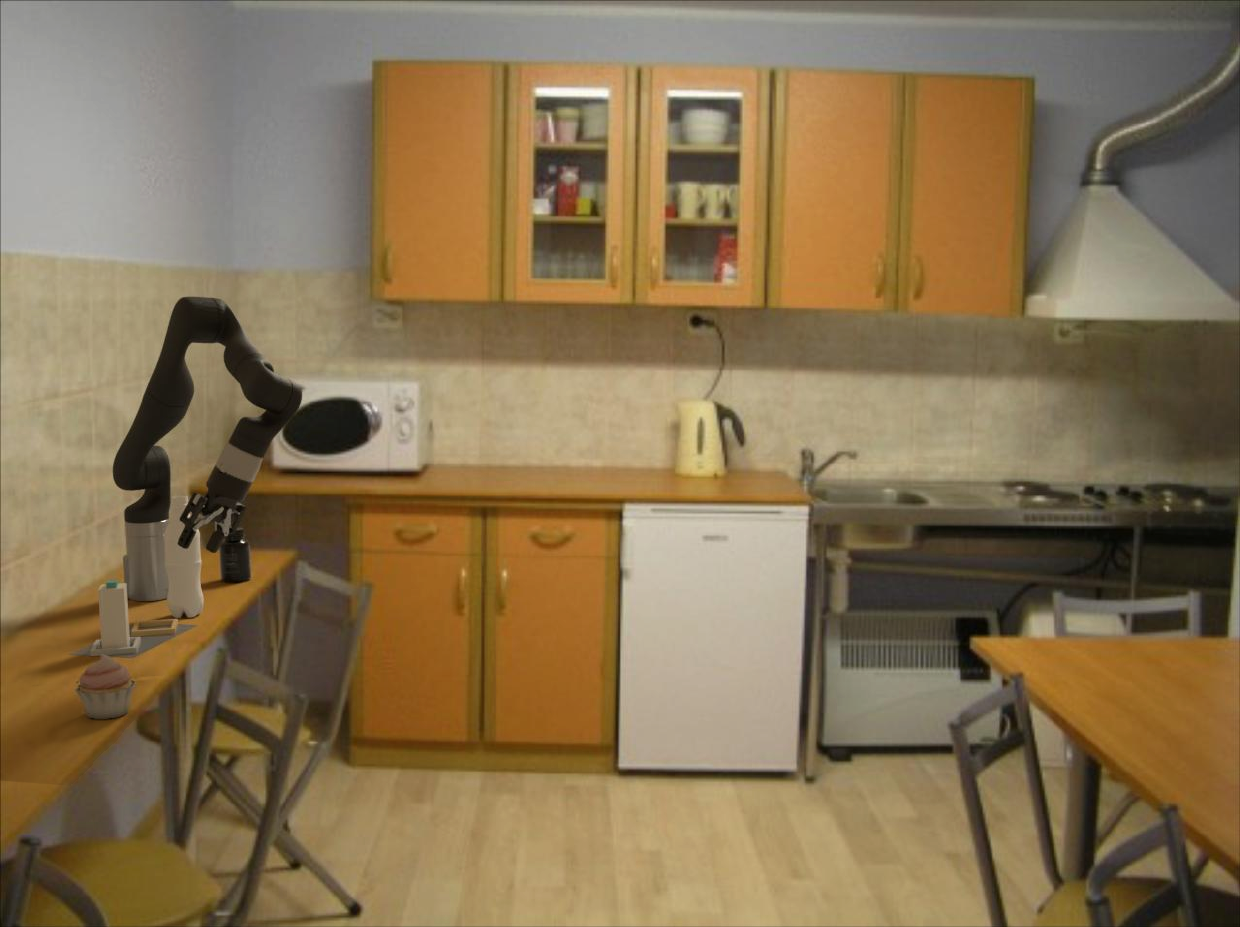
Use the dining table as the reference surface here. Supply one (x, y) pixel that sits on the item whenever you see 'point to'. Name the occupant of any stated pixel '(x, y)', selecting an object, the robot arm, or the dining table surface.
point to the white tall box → (114, 615)
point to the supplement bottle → (235, 557)
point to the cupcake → (105, 689)
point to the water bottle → (182, 566)
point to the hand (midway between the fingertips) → (196, 549)
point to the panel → (140, 638)
